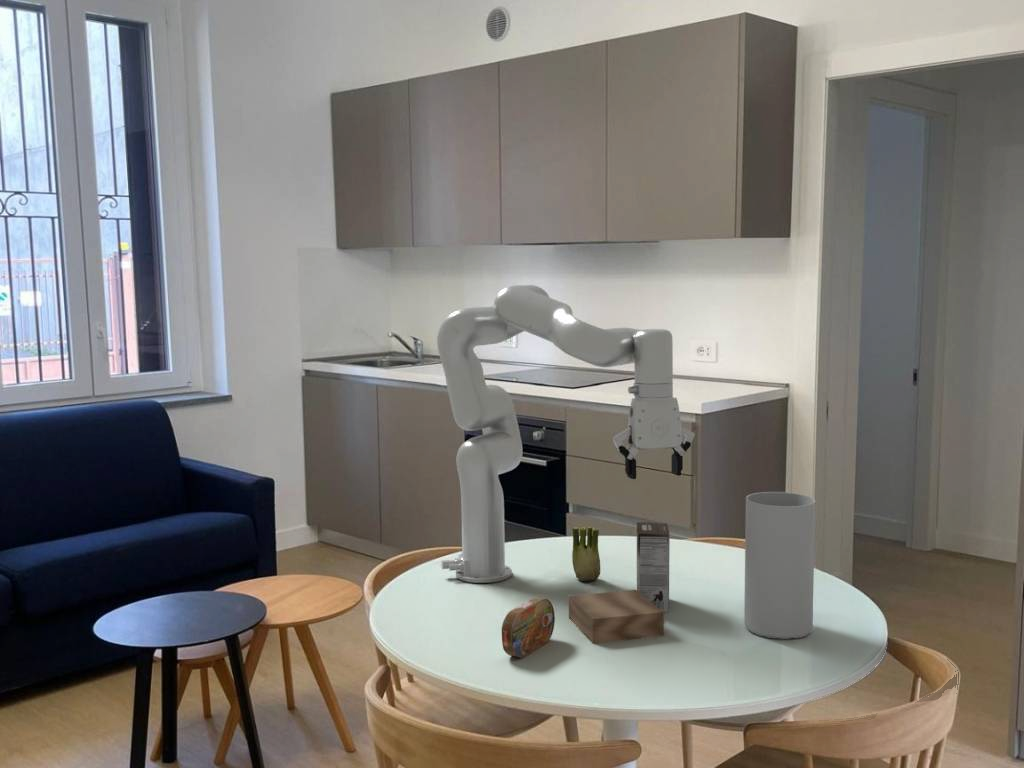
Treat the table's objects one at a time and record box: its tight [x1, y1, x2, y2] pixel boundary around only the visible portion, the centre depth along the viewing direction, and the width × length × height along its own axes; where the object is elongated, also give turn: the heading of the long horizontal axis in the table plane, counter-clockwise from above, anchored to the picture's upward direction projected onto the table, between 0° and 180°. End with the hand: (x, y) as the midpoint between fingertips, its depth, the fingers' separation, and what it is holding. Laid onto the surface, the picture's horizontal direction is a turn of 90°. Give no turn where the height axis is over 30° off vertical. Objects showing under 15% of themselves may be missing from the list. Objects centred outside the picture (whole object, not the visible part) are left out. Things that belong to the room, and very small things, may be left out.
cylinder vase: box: [743, 491, 816, 640], centre depth 191 cm, size 12×12×25 cm
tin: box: [501, 597, 556, 659], centre depth 183 cm, size 15×3×8 cm, turn 148°
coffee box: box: [636, 521, 671, 613], centre depth 206 cm, size 9×6×16 cm
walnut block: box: [568, 589, 665, 645], centre depth 194 cm, size 14×14×5 cm
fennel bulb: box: [571, 526, 601, 583], centre depth 224 cm, size 6×5×12 cm
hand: (654, 476), depth 204 cm, fingers open, 9 cm apart
